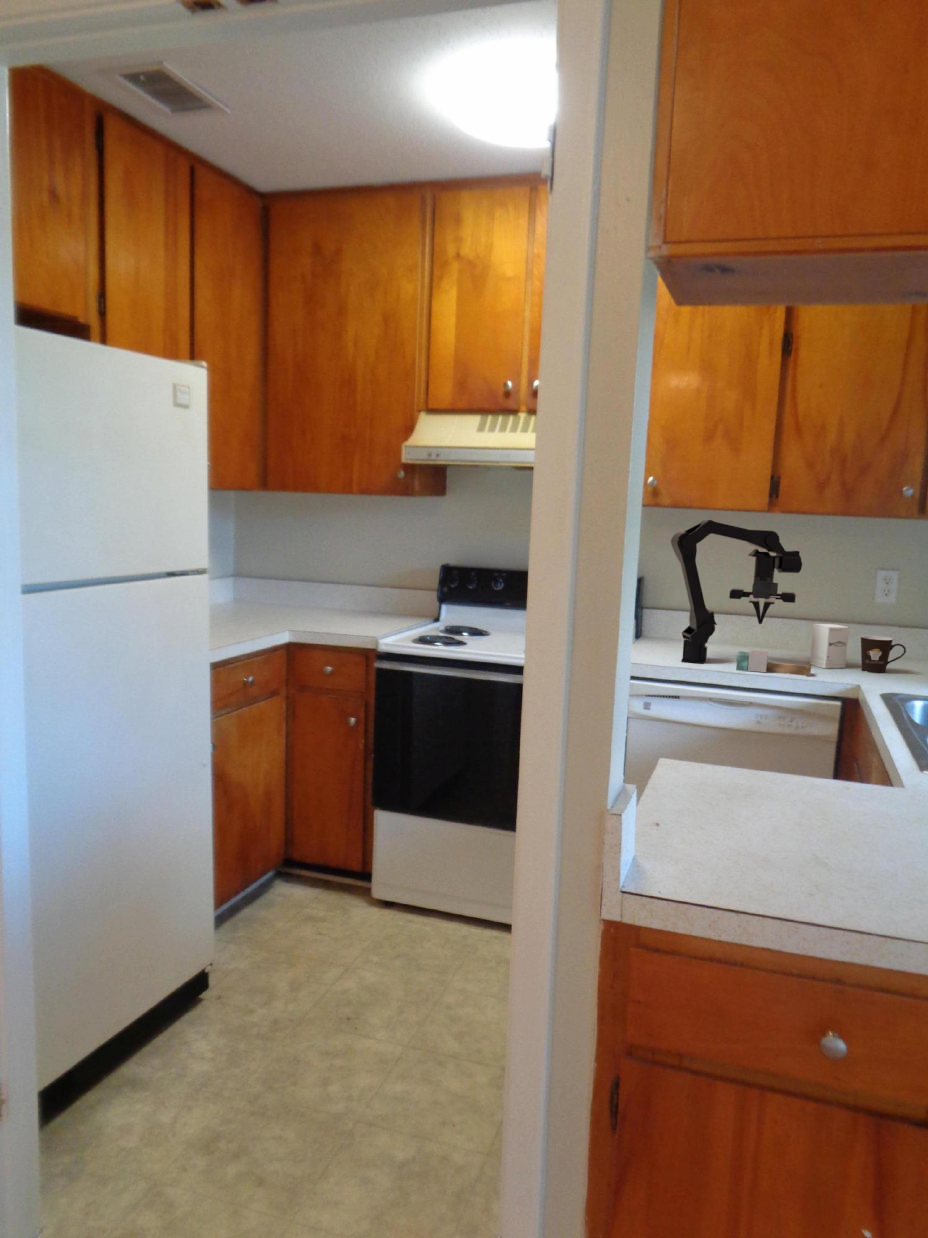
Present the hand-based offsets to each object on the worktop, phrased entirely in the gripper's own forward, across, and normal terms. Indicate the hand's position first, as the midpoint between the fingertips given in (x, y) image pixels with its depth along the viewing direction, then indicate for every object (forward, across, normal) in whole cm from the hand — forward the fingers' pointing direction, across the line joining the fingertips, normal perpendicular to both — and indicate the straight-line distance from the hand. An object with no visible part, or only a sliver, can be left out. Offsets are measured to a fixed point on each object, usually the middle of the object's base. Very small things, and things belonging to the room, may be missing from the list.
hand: (760, 623), depth 270 cm
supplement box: (+12, +20, +6) cm, 24 cm away
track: (+12, +5, -13) cm, 18 cm away
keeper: (+12, +1, -13) cm, 18 cm away
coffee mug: (+12, +34, +4) cm, 36 cm away
